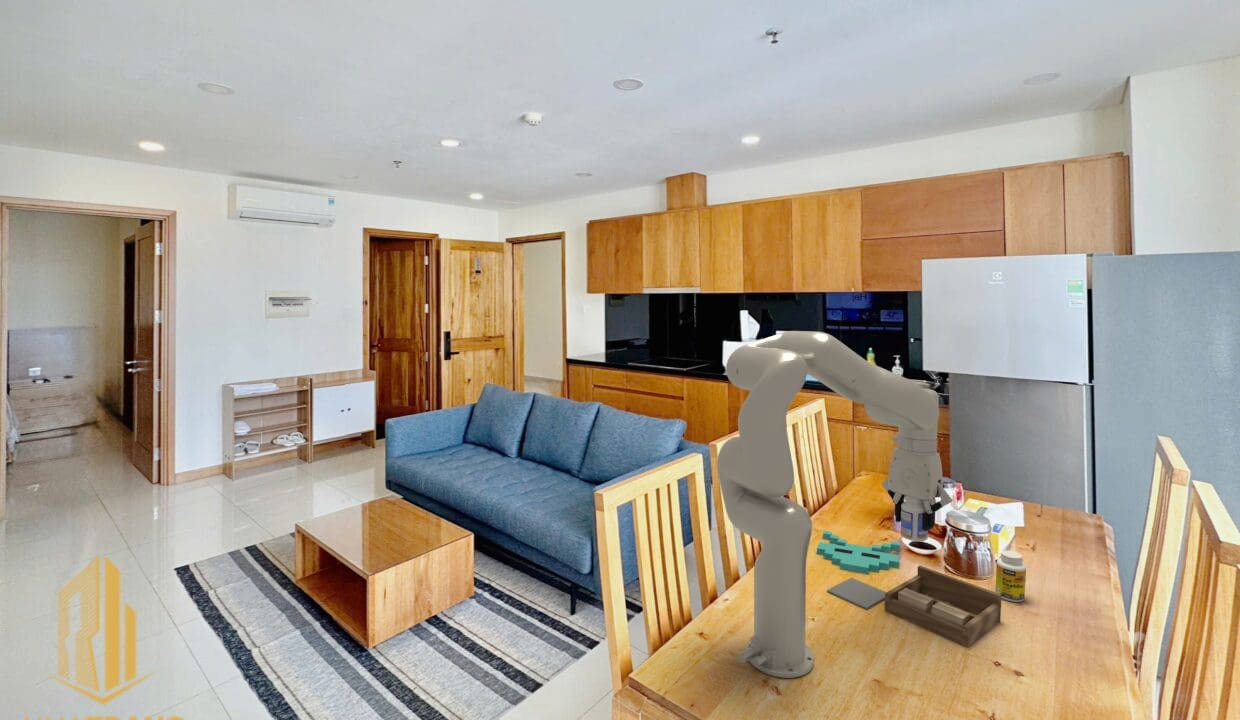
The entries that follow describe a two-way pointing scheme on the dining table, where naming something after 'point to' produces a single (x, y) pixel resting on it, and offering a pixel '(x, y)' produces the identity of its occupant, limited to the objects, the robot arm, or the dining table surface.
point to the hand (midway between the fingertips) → (914, 524)
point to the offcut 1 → (916, 600)
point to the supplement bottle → (1010, 576)
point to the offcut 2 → (950, 614)
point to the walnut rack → (952, 593)
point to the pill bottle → (913, 519)
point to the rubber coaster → (858, 593)
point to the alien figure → (858, 555)
